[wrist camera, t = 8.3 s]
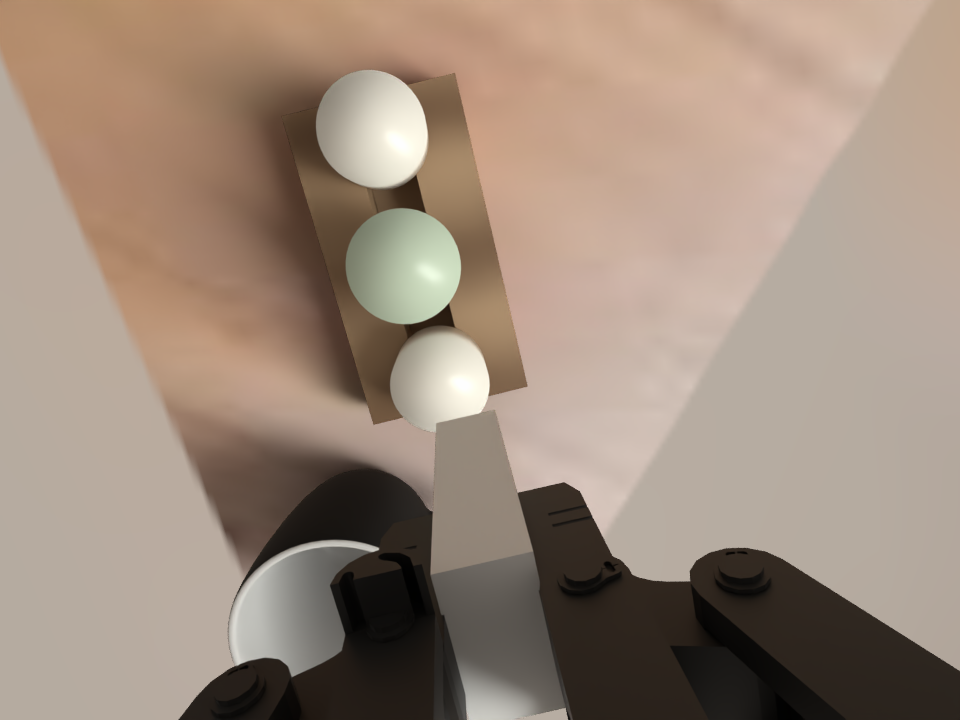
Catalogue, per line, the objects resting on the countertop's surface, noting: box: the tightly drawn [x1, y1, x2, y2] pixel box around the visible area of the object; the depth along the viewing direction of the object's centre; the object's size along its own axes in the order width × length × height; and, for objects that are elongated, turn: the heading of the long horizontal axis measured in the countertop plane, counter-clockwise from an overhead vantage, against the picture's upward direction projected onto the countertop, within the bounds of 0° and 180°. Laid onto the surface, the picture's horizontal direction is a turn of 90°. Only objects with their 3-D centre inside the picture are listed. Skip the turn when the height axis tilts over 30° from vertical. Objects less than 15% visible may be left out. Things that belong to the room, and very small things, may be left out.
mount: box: [282, 73, 527, 425], centre depth 30 cm, size 15×8×3 cm, turn 14°
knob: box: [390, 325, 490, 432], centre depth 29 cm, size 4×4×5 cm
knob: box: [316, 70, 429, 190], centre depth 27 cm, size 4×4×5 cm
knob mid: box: [346, 208, 461, 324], centre depth 26 cm, size 4×4×5 cm
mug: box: [228, 470, 433, 677], centre depth 30 cm, size 12×9×10 cm
